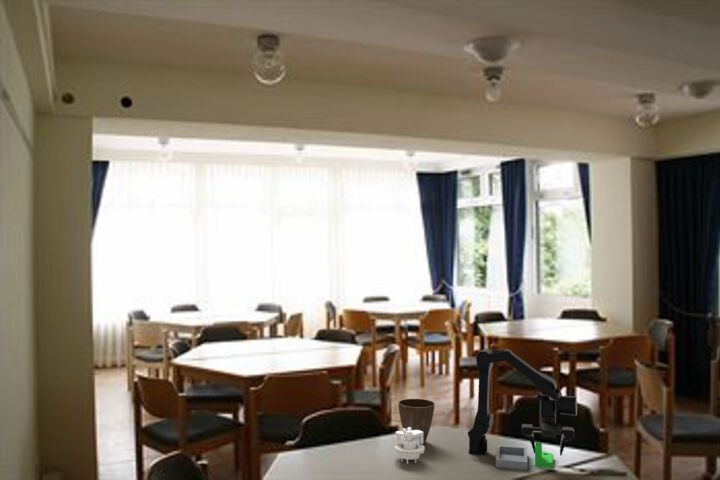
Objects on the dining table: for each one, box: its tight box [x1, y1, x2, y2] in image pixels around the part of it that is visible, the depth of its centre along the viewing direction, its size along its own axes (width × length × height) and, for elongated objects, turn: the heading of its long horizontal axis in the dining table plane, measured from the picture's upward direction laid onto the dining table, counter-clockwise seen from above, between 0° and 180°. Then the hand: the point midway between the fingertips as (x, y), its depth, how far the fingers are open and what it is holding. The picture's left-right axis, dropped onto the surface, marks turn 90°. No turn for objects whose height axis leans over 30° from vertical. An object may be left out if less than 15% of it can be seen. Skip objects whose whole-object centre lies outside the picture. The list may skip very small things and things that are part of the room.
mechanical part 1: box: [394, 427, 425, 465], centre depth 237 cm, size 11×12×12 cm
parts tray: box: [495, 445, 528, 472], centre depth 237 cm, size 11×17×3 cm, turn 166°
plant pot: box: [397, 398, 436, 445], centre depth 259 cm, size 15×15×16 cm
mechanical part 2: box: [534, 441, 555, 469], centre depth 237 cm, size 12×6×8 cm, turn 160°
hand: (547, 454), depth 236 cm, fingers open, 9 cm apart
